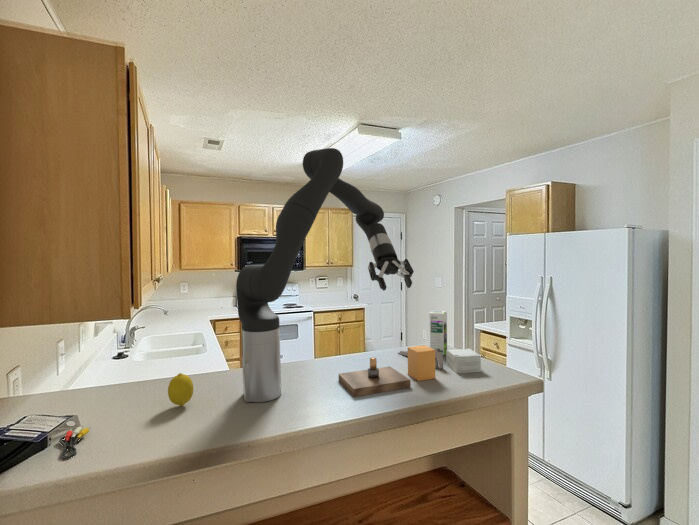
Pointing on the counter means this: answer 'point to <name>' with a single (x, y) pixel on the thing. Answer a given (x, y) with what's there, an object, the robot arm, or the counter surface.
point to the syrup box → (438, 330)
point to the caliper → (437, 355)
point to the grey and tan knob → (373, 369)
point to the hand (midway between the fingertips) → (397, 287)
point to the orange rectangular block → (421, 362)
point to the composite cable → (72, 440)
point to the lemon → (180, 389)
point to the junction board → (373, 381)
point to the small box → (463, 360)
